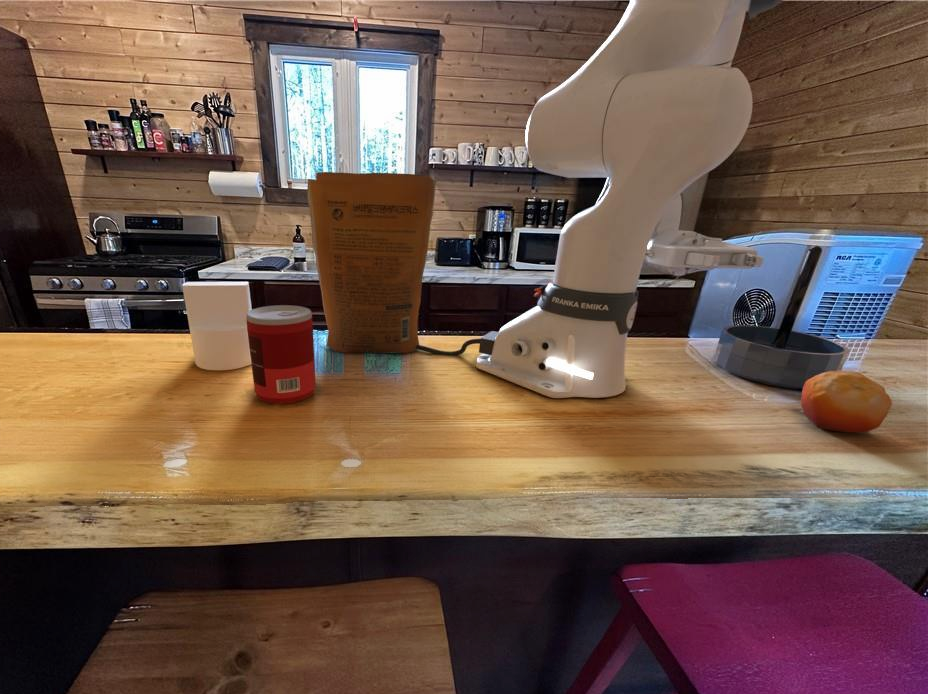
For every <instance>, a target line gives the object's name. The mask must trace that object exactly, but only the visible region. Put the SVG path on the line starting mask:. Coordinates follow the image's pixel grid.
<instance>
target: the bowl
mask: <svg viewBox="0 0 928 694" xmlns="http://www.w3.org/2000/svg"><path fill="white" fill-rule="evenodd" d="M779 328H780V327H771V326H763V325H749V324H748V325H747V324H735V325H728V326H724V327H723V329H721V333H720V336H719V339H718V342H717V345H716V348H715V352H714V355H713V357H712V358H713V360H714V362H715V363H716V364H718V365H720V366H721V368H722V369H724V370H725V371H727V372H728V373H731V374H733V375H734V376H738V377H740V378H743V379H746V380H749V381H753V382H756V383H760V384H763V385H764V384H765V385H769V386H774V387H778V388H779V387H780V388H786V389H794V390H795V389H796V390H803V387H804V384H805V382H806V381H807V380H808V379H811V378H812V377H814V376H816V375H819V374H821V373H825V372H829V371H843V368H844V366H845V363H846V361H847V359H848V357H849V355H850V349H849V347H847V346H845V345H844V344H842V343H840V342H837V341H835V340H833V339H832V340H831V339H829V338H825V337H822V336H818V335H816V334H810V333H805V332H801V331H797V330H792V331H791V333H790V336H789V339H788V341H787V344H786V346H785V349H780V348H774V347H772V346H773V344H774V341H775V338H776V336H777V333H778V330H779Z"/></svg>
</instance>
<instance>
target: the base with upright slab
mask: <svg viewBox="0 0 928 694" xmlns="http://www.w3.org/2000/svg"><path fill="white" fill-rule="evenodd" d="M249 283H250V282H249V281H186V282H184V283H182V284H181V286H182V292H183V299H184V305H185V309H186V315H187V321H188V322H187V323H188V327H189V333H190V338H191V339H190V340H191V345H192V351H193V356H194V363H195V366H197V368H199V369H202V370H207V371H230V370H237V369H242V368H244V367H248V366H250V365H251V356H250V348H249V340H248V332H247V321H246V313H247V312H249V311H250V310H253V308H252V300H251V291H250V284H249Z"/></svg>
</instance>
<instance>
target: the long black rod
mask: <svg viewBox="0 0 928 694" xmlns="http://www.w3.org/2000/svg"><path fill="white" fill-rule="evenodd" d="M822 253H823V248H822V247H821V246H820V245H813V246H811V247H810V248H808V250H807V253H806V255H805V258H804V260H803V264H802V266H801V269H800V271H799V274H798V277H797V278H796V279H797V280H796V283H795V285H794V287H793V291H792V293H791V295H790V298H789V301H788V304H787V307H786V308H785V312H784V314H783V316H782V319H781V322H780V325H779V327H778V328H779V330H778V333H777V336H776V338H775V341H774V344H773V346H772V347H774V348H780V349H785V346H786V344H787V341H788V339H789V336H790V333H791V331H793V328H794V325H795V323H796V320H797V318H798V315H799V313H800V310H801V307H802V305H803V302H804V301H805V298H806V294H807V292H808V289H809V287H810V285H811V281H812V278H813V277H814V273H815V271H816V268H817V267H818V264H819V260H820V259H821V256H822Z"/></svg>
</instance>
